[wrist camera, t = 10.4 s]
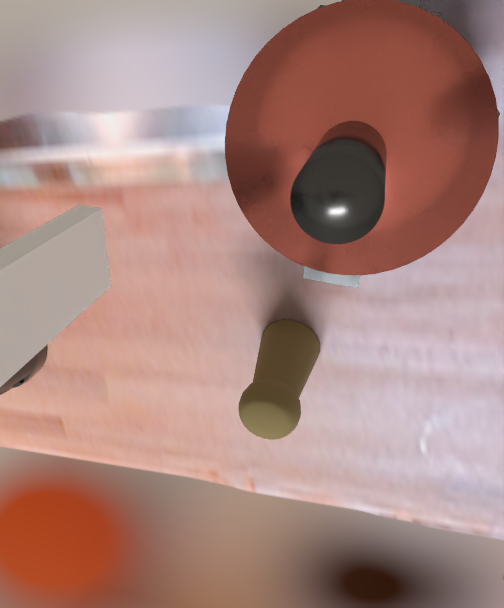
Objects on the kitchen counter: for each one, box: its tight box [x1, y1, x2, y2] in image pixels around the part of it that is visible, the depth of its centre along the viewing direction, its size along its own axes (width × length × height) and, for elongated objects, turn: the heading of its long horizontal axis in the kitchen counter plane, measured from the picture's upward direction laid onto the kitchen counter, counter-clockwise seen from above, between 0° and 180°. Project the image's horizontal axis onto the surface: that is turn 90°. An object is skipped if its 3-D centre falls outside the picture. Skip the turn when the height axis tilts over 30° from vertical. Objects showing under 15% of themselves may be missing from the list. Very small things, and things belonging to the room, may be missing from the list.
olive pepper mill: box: [239, 320, 320, 439], centre depth 40 cm, size 6×6×11 cm
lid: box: [225, 0, 498, 275], centre depth 24 cm, size 15×15×11 cm
